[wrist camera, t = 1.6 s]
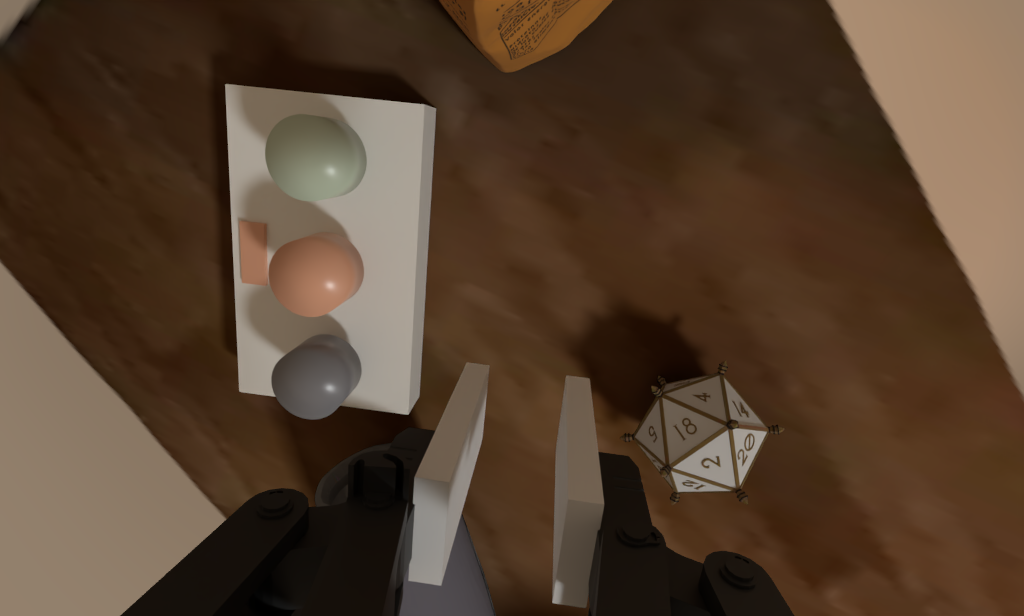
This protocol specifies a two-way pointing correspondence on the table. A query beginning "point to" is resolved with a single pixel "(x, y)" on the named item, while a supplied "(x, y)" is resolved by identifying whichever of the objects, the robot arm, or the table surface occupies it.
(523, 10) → the coffee package
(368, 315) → the console
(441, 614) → the bluetooth speaker
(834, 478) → the table surface
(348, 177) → the sage button
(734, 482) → the game die
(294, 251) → the terracotta button
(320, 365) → the charcoal button
